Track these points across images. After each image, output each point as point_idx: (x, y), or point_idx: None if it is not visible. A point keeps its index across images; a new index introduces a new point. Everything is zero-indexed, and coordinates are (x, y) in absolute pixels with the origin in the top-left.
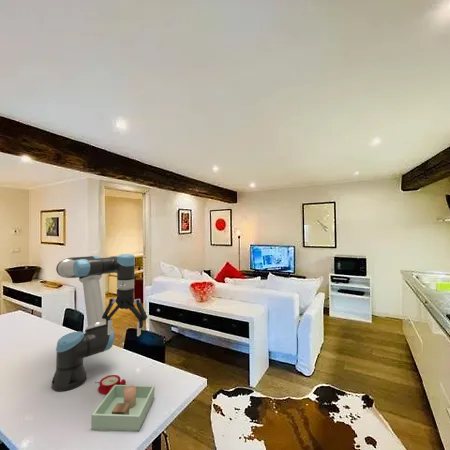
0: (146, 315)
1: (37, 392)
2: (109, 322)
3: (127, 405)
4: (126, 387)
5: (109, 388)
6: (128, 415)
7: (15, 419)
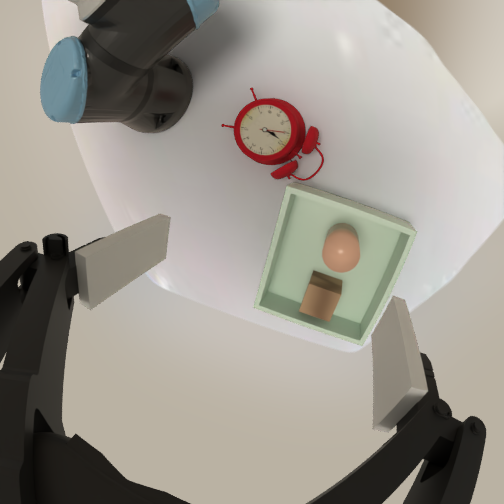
0: (479, 450)
1: (113, 132)
2: (100, 301)
3: (336, 302)
4: (329, 243)
5: (272, 173)
6: (338, 336)
7: (118, 216)
